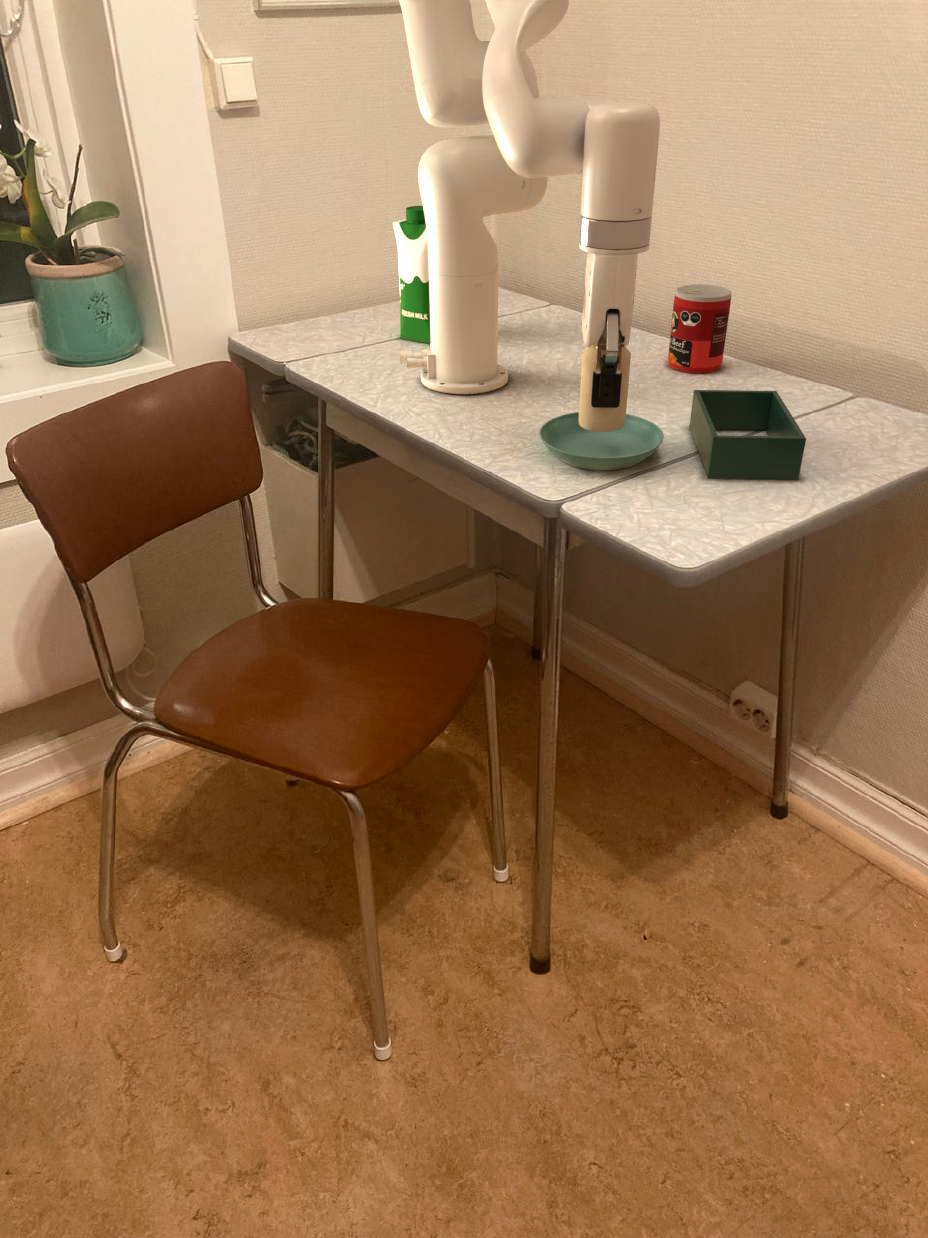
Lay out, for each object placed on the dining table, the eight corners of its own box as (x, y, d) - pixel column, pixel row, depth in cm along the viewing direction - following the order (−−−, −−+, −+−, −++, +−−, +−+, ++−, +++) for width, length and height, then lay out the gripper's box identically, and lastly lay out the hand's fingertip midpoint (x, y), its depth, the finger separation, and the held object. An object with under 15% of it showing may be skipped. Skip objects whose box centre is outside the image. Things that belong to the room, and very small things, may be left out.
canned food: (661, 358, 147) (669, 284, 141) (712, 357, 147) (722, 283, 141) (675, 375, 140) (683, 298, 134) (728, 373, 141) (739, 296, 135)
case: (707, 478, 110) (713, 436, 107) (689, 427, 123) (693, 389, 120) (798, 479, 109) (806, 438, 106) (770, 428, 122) (776, 390, 120)
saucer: (537, 429, 123) (537, 409, 121) (653, 430, 122) (655, 410, 121) (540, 477, 110) (540, 456, 109) (669, 478, 110) (671, 457, 108)
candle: (623, 434, 111) (630, 348, 106) (576, 430, 112) (580, 345, 107) (626, 417, 116) (633, 334, 111) (580, 414, 117) (585, 331, 112)
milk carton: (392, 339, 157) (386, 207, 146) (423, 325, 163) (420, 198, 152) (437, 347, 153) (434, 212, 142) (467, 333, 159) (466, 203, 148)
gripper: (576, 218, 110) (569, 373, 120) (582, 250, 96) (573, 423, 105) (642, 218, 110) (629, 374, 119) (658, 250, 95) (642, 424, 105)
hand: (603, 395), depth 112 cm, fingers closed on candle, 5 cm apart
